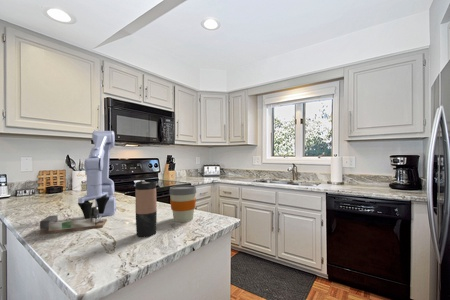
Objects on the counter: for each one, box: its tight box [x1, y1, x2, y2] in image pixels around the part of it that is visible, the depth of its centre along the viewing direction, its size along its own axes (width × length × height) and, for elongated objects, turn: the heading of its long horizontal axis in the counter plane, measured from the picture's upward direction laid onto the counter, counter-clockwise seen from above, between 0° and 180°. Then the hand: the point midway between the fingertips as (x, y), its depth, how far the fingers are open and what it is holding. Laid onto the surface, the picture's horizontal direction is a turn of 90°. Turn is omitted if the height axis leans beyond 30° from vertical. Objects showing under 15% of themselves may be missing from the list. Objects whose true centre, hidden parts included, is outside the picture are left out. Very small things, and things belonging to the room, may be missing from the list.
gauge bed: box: [39, 214, 108, 235], centre depth 92 cm, size 22×9×5 cm, turn 109°
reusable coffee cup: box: [168, 184, 197, 223], centre depth 101 cm, size 13×13×15 cm
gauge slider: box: [90, 206, 102, 223], centre depth 93 cm, size 4×8×6 cm, turn 19°
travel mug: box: [134, 180, 158, 238], centre depth 83 cm, size 8×8×20 cm
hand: (94, 215), depth 94 cm, fingers open, 7 cm apart
